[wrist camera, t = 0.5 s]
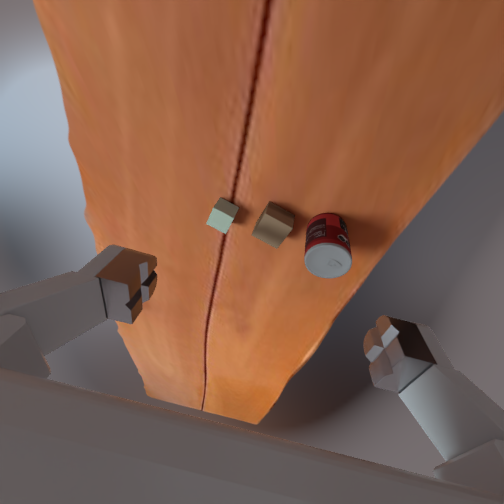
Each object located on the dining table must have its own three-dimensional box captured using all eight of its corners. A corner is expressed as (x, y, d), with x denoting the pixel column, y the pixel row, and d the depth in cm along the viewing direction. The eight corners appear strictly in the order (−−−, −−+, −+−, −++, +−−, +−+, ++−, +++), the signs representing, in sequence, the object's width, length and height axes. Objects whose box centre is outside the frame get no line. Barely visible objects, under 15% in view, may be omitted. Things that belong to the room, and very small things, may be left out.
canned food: (342, 245, 52) (346, 281, 44) (304, 240, 54) (301, 275, 45) (350, 213, 47) (357, 248, 39) (309, 209, 49) (307, 242, 40)
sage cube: (220, 197, 51) (213, 207, 48) (239, 207, 52) (233, 218, 48) (213, 212, 54) (206, 223, 51) (231, 222, 55) (225, 233, 51)
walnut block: (269, 200, 49) (265, 213, 46) (294, 215, 50) (292, 228, 46) (256, 222, 53) (251, 235, 50) (280, 234, 54) (277, 248, 50)
